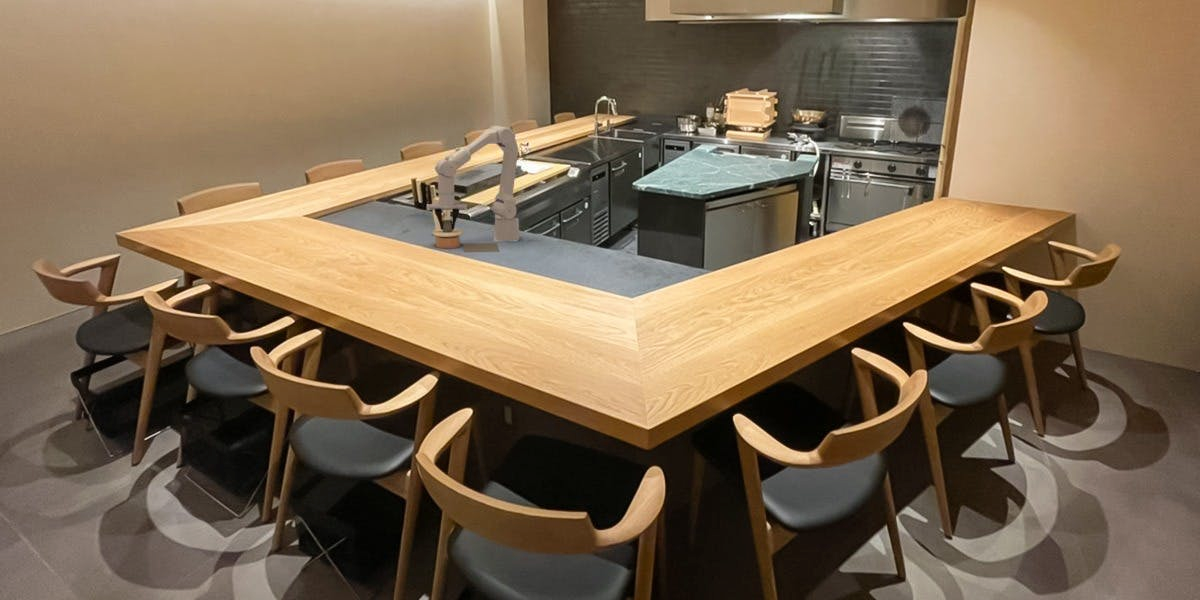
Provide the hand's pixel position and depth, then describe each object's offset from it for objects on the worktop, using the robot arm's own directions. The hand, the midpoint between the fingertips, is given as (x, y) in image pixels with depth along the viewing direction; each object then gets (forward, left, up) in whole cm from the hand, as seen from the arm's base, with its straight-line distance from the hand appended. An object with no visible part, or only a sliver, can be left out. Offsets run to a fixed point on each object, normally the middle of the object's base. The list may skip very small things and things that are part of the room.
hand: (447, 229), depth 251 cm
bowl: (0, 0, -7) cm, 7 cm away
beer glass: (+2, -18, -7) cm, 19 cm away
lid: (0, 0, -2) cm, 2 cm away
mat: (-12, +4, -7) cm, 14 cm away
